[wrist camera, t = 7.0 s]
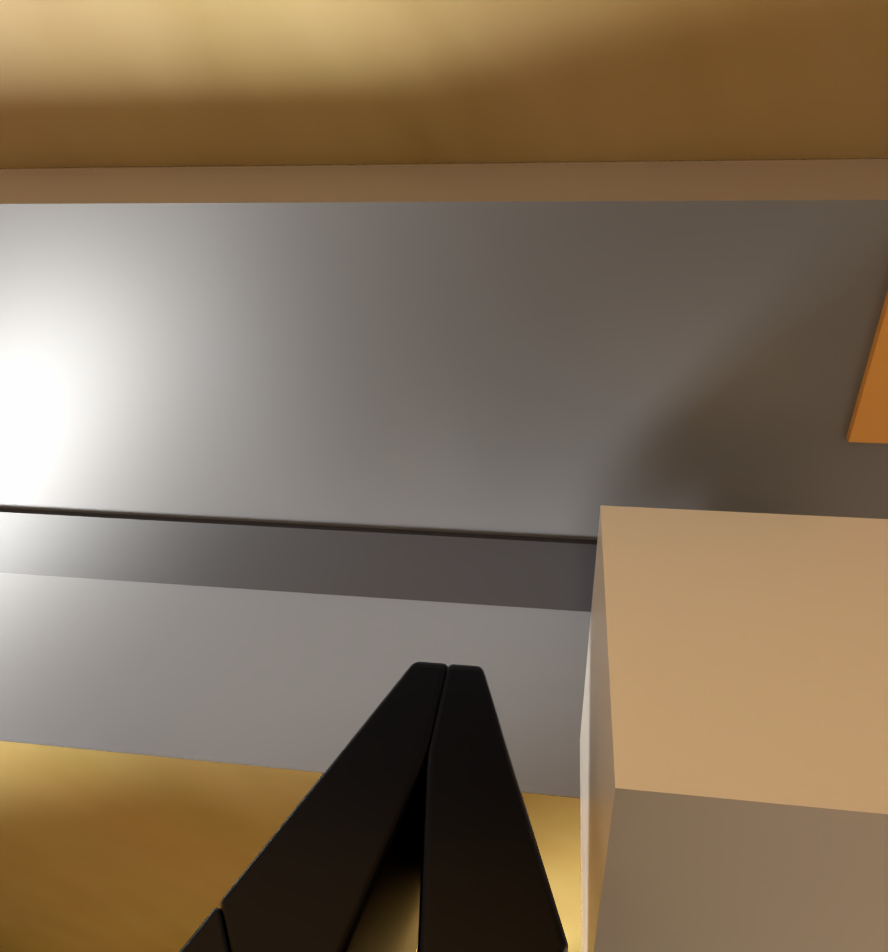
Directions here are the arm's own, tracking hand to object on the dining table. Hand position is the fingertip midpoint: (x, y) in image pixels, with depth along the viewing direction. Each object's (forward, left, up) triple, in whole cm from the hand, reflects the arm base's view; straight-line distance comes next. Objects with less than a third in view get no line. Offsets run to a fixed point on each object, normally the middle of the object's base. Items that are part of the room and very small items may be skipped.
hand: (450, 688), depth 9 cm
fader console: (0, +3, -4) cm, 5 cm away
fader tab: (0, -3, -2) cm, 4 cm away
